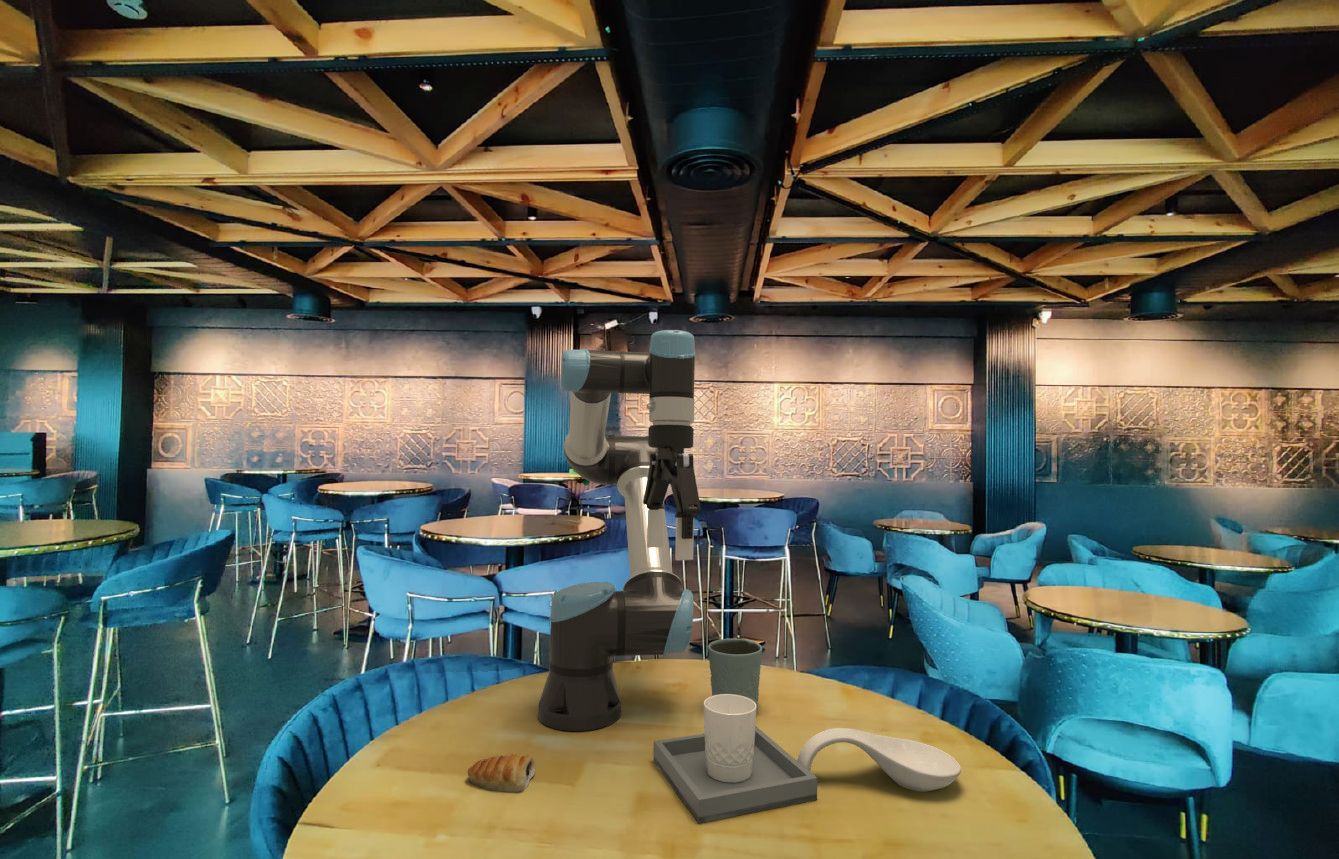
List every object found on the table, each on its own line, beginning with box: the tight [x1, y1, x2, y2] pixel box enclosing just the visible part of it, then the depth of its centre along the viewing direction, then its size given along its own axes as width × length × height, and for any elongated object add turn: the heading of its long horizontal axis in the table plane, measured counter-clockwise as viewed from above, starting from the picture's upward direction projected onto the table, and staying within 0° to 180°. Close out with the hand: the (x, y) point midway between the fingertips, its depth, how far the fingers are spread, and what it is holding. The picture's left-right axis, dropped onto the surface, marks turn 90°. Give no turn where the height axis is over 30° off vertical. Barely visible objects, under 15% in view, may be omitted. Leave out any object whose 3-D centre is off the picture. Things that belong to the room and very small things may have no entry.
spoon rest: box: [797, 727, 962, 792], centre depth 94 cm, size 24×12×7 cm, turn 92°
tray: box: [653, 725, 818, 824], centre depth 94 cm, size 18×18×3 cm
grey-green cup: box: [707, 638, 763, 714], centre depth 120 cm, size 10×10×12 cm
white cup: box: [703, 694, 757, 783], centre depth 94 cm, size 8×8×10 cm
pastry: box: [467, 752, 536, 793], centre depth 92 cm, size 9×7×4 cm
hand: (668, 553), depth 104 cm, fingers open, 13 cm apart
